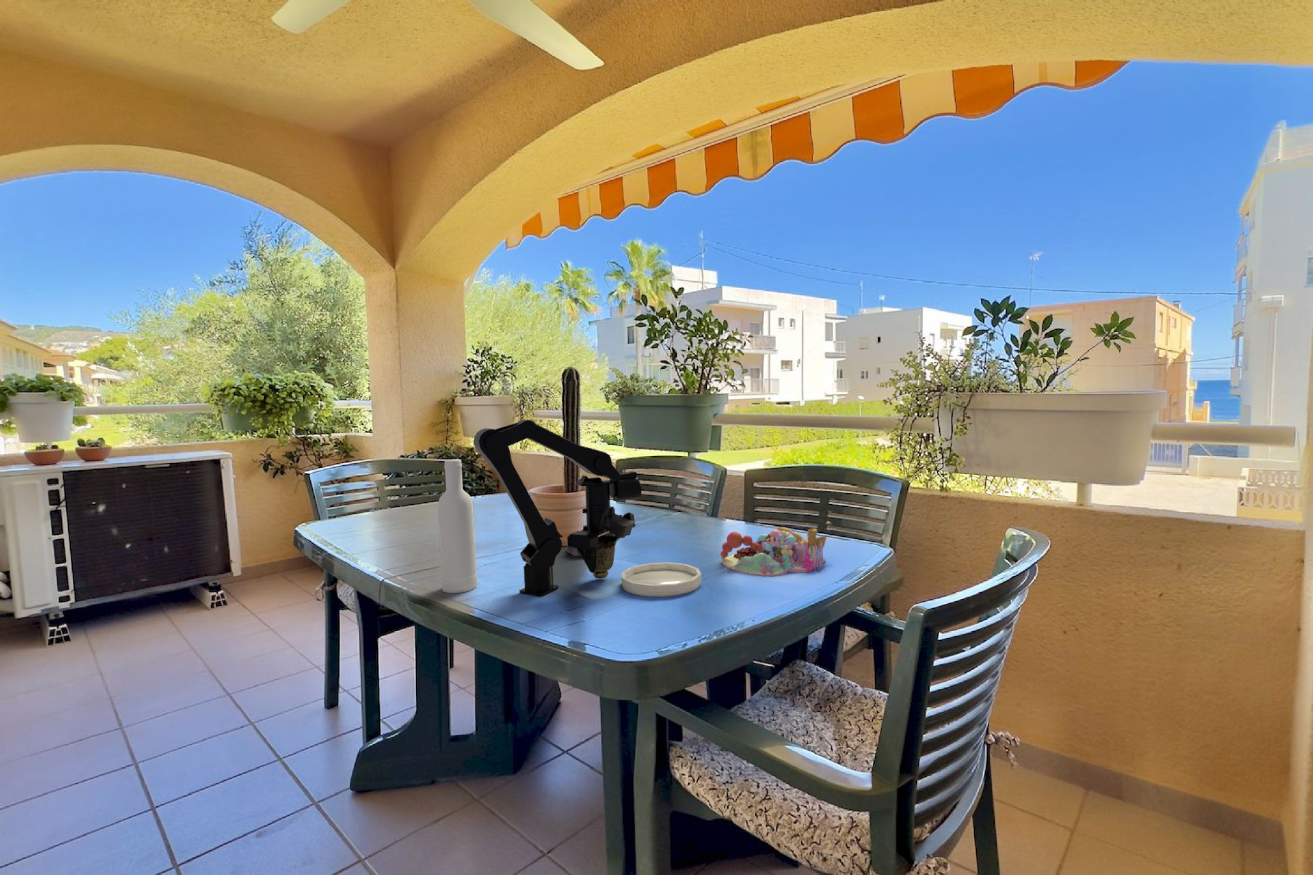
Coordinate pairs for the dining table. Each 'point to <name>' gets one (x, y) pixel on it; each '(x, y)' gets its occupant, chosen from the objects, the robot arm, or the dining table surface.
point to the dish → (661, 579)
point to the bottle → (456, 533)
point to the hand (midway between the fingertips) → (600, 568)
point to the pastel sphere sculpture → (774, 553)
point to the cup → (604, 559)
